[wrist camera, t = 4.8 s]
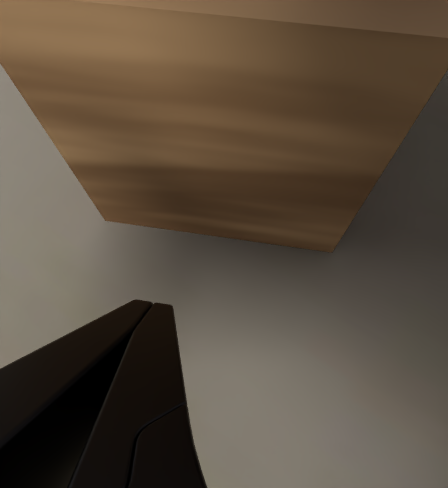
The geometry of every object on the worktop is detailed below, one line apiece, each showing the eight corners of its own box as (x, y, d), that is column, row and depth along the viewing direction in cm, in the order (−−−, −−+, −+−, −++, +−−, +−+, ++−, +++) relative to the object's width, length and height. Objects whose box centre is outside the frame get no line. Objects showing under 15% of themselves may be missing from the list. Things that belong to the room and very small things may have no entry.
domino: (332, 252, 19) (466, 39, 8) (105, 220, 20) (-50, -12, 9) (335, 207, 20) (459, -40, 9) (117, 178, 21) (-10, -81, 10)
